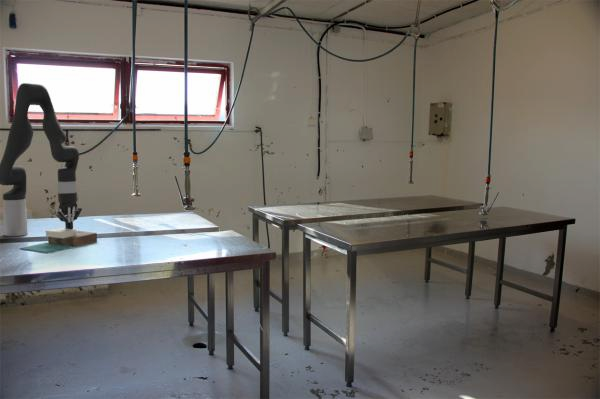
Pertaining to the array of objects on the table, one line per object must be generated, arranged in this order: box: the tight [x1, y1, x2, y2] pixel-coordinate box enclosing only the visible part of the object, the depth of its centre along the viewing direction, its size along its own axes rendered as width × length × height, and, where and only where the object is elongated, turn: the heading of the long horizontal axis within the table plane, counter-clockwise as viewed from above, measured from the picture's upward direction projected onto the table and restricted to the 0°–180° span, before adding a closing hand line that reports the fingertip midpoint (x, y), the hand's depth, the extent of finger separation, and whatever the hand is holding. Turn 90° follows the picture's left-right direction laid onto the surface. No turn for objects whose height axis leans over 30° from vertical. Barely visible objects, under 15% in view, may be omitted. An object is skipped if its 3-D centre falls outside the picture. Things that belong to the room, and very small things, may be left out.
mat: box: [19, 242, 74, 254], centre depth 193 cm, size 16×12×1 cm
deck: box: [47, 230, 98, 248], centre depth 205 cm, size 16×12×4 cm
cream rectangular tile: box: [45, 227, 77, 238], centre depth 200 cm, size 10×7×2 cm
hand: (69, 230), depth 204 cm, fingers closed
